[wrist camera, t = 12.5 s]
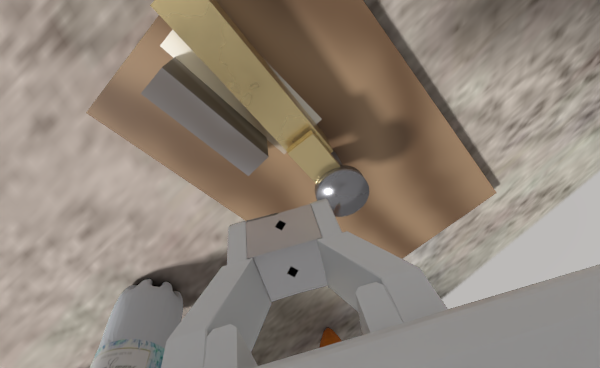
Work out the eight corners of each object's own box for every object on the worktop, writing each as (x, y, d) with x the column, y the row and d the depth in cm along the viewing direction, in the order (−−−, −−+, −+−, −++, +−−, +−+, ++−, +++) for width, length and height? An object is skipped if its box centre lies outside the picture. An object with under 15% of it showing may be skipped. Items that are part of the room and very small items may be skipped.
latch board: (350, 285, 35) (363, 325, 31) (92, 108, 22) (53, 135, 17) (489, 187, 30) (528, 218, 26) (269, -127, 17) (275, -169, 12)
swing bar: (358, 164, 25) (378, 196, 21) (323, 189, 26) (336, 225, 22) (201, -36, 17) (185, -45, 13) (157, 11, 18) (129, 15, 14)
